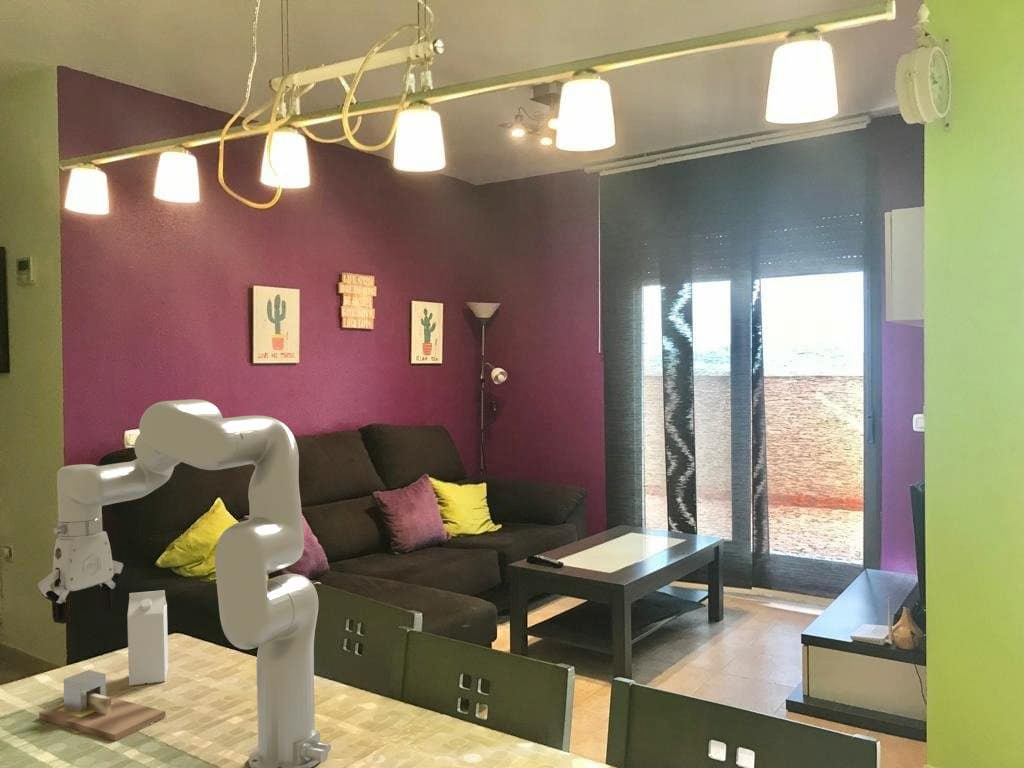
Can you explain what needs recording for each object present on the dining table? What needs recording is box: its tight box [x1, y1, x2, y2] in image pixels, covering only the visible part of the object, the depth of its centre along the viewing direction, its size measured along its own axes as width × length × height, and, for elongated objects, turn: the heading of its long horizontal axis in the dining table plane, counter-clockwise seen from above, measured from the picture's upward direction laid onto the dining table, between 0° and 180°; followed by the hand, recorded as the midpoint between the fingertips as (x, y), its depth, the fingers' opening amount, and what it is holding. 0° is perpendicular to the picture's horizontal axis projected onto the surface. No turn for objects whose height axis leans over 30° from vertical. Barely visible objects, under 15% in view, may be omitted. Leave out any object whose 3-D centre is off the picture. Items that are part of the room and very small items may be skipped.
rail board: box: [38, 691, 167, 742], centre depth 159 cm, size 22×11×4 cm, turn 63°
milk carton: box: [126, 589, 169, 686], centre depth 179 cm, size 7×7×19 cm
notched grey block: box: [63, 669, 107, 714], centre depth 161 cm, size 5×5×6 cm
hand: (83, 615), depth 161 cm, fingers open, 9 cm apart
